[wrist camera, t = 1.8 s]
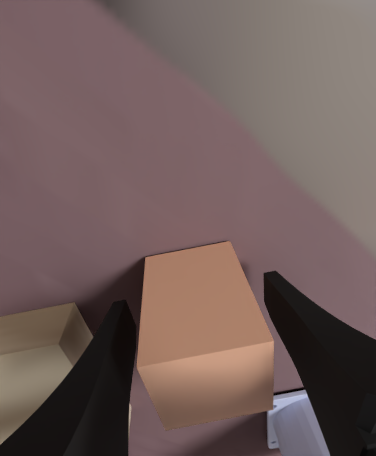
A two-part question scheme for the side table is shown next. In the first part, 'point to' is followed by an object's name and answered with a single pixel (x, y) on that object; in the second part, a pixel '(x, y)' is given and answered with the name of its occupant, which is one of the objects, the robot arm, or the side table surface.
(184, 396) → the terracotta block
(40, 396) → the birch base
